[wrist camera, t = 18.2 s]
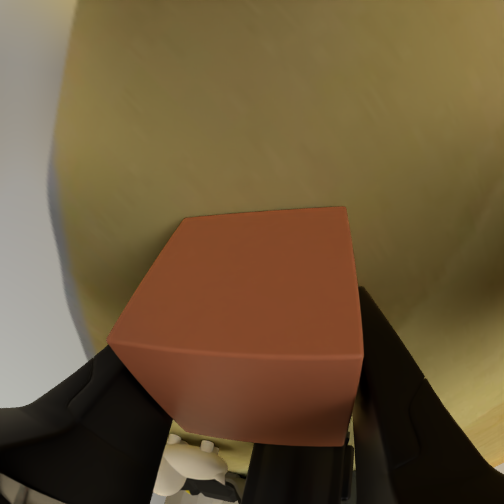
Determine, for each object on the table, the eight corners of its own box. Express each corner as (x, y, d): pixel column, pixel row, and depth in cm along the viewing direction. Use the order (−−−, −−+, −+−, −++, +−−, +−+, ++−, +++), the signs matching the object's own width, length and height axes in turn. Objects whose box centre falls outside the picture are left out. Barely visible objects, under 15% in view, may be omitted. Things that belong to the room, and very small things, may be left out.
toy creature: (145, 424, 23) (123, 481, 18) (225, 440, 21) (207, 508, 16) (167, 441, 25) (150, 492, 20) (240, 455, 23) (226, 513, 18)
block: (221, 322, 11) (185, 432, 8) (183, 217, 9) (103, 340, 5) (345, 322, 10) (343, 447, 6) (346, 205, 7) (365, 357, 4)
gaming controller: (153, 450, 31) (181, 469, 37) (141, 485, 27) (172, 498, 32) (267, 473, 27) (277, 485, 33) (258, 514, 23) (270, 517, 28)
